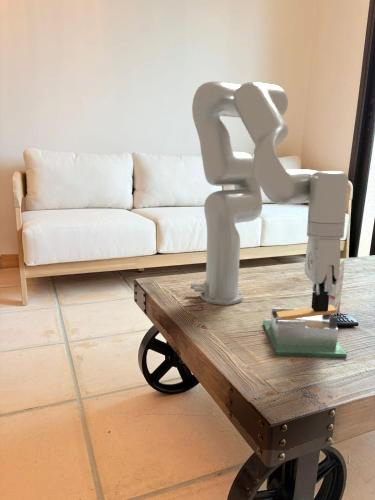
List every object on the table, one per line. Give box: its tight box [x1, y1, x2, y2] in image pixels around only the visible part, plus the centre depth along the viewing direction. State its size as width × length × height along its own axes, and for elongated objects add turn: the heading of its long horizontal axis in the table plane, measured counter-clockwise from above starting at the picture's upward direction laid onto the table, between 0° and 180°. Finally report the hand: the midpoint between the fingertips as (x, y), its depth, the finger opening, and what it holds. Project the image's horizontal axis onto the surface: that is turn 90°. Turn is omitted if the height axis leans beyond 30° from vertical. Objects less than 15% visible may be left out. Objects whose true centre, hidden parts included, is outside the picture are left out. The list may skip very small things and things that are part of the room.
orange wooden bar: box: [276, 305, 338, 320], centre depth 90 cm, size 13×3×1 cm, turn 89°
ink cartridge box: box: [328, 259, 345, 315], centre depth 105 cm, size 9×5×15 cm, turn 148°
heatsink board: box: [262, 307, 348, 359], centre depth 90 cm, size 15×16×7 cm
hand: (319, 309), depth 88 cm, fingers closed
